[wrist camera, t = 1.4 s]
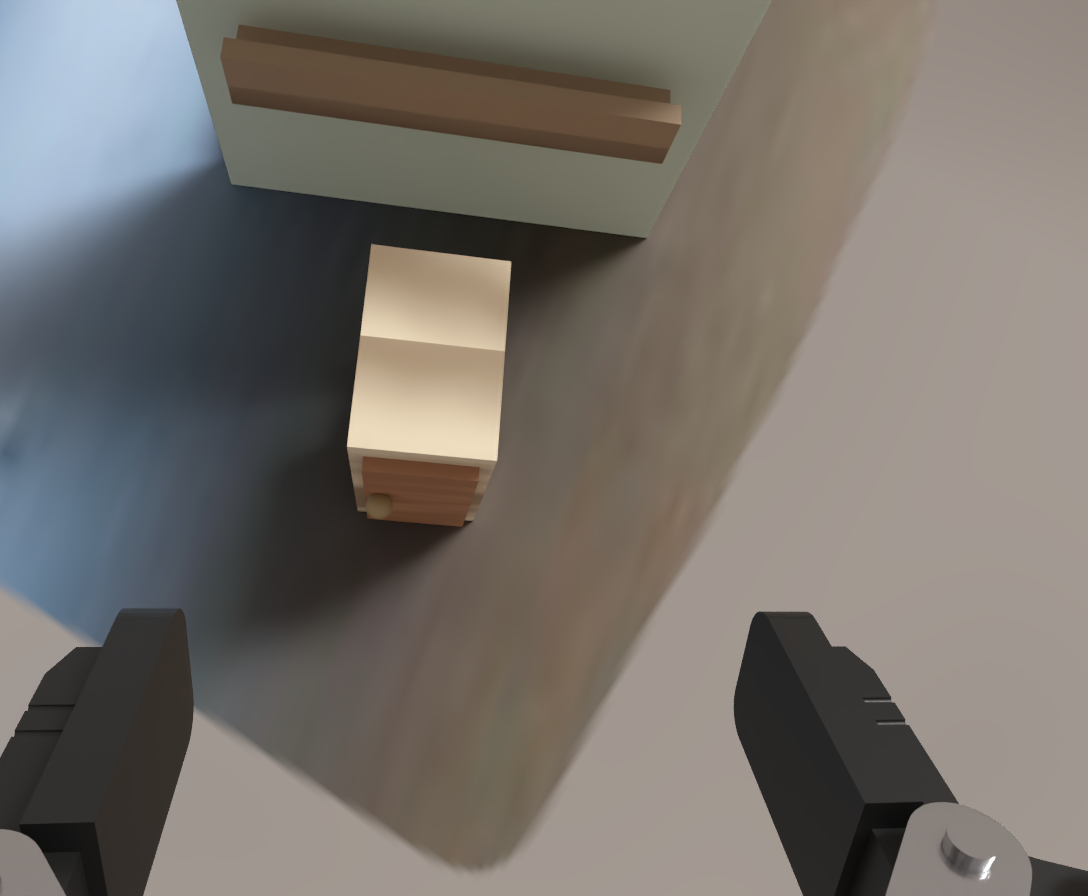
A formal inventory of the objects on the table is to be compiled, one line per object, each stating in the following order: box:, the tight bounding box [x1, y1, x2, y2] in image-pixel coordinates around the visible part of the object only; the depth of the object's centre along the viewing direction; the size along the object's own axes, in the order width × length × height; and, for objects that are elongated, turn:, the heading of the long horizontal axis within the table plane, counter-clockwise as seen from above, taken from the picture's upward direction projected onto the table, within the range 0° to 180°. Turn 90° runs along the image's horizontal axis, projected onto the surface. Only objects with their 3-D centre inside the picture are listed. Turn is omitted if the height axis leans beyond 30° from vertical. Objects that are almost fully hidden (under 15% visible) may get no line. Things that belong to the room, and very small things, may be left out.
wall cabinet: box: [347, 244, 511, 527], centre depth 37 cm, size 9×5×10 cm, turn 177°
